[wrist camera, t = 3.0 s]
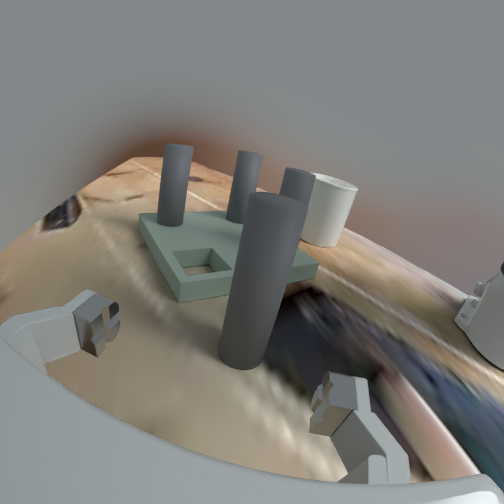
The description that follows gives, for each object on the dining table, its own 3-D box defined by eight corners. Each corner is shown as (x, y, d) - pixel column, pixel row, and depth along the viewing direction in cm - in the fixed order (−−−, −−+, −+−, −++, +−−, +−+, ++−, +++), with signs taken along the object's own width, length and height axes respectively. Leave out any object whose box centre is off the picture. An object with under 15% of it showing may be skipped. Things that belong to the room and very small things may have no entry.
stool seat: (138, 228, 44) (146, 140, 38) (242, 223, 55) (257, 151, 49) (179, 302, 29) (194, 168, 24) (313, 278, 41) (343, 183, 35)
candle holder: (308, 249, 50) (327, 183, 45) (284, 227, 58) (298, 169, 53) (349, 250, 54) (368, 192, 49) (322, 230, 62) (337, 177, 57)
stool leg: (240, 332, 27) (274, 190, 21) (271, 356, 25) (318, 209, 19) (209, 349, 24) (236, 193, 18) (241, 377, 22) (285, 214, 16)
